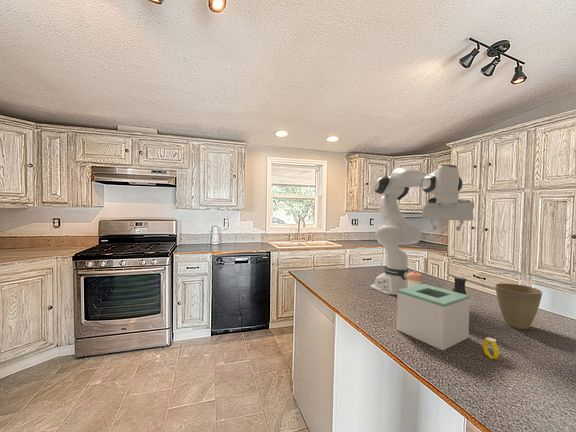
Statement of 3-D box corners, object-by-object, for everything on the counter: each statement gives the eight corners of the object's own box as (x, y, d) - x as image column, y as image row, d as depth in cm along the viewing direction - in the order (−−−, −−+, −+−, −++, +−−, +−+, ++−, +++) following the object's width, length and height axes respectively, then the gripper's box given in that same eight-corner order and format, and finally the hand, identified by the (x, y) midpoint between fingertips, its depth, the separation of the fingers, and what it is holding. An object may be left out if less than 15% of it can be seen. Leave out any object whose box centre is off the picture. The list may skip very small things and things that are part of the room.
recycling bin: (396, 329, 105) (397, 289, 104) (422, 320, 114) (423, 283, 114) (442, 350, 89) (444, 304, 89) (468, 337, 99) (469, 295, 98)
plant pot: (507, 316, 120) (508, 281, 119) (549, 330, 106) (550, 291, 105) (485, 320, 114) (487, 284, 114) (527, 336, 100) (528, 295, 100)
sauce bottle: (458, 328, 106) (459, 280, 106) (445, 322, 112) (446, 276, 112) (470, 326, 108) (472, 279, 108) (457, 320, 114) (458, 275, 114)
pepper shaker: (424, 315, 120) (425, 273, 119) (407, 313, 121) (408, 272, 121) (419, 309, 127) (420, 269, 126) (403, 307, 128) (404, 269, 128)
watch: (480, 352, 89) (480, 334, 89) (489, 353, 89) (489, 335, 89) (492, 361, 83) (491, 342, 83) (501, 362, 83) (501, 343, 83)
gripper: (473, 200, 118) (472, 230, 118) (422, 200, 127) (421, 228, 127) (475, 199, 112) (474, 231, 112) (422, 199, 121) (421, 229, 122)
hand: (446, 230), depth 120 cm, fingers open, 8 cm apart
